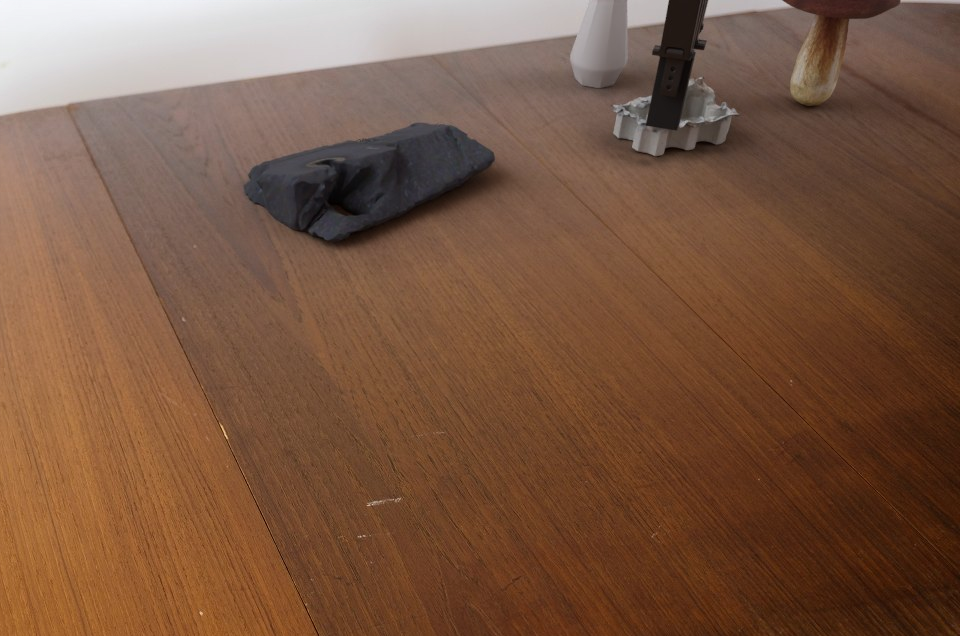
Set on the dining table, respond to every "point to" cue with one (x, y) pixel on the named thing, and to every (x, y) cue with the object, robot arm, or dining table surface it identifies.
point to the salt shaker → (601, 44)
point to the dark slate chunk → (366, 178)
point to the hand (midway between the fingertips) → (662, 124)
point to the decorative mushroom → (827, 44)
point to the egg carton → (695, 124)
